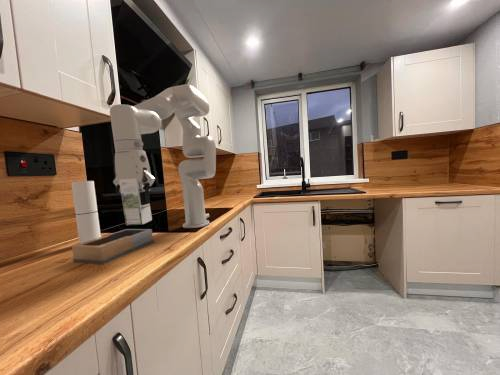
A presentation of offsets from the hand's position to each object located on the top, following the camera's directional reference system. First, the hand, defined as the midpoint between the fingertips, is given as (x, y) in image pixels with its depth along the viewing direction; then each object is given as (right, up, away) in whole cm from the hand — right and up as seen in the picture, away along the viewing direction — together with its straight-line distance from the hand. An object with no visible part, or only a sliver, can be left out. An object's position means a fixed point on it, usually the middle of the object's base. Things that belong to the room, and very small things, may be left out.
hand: (136, 204), depth 70 cm
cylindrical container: (-28, -17, +19) cm, 38 cm away
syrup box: (+1, -6, +1) cm, 6 cm away
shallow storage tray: (-10, -17, +6) cm, 20 cm away
